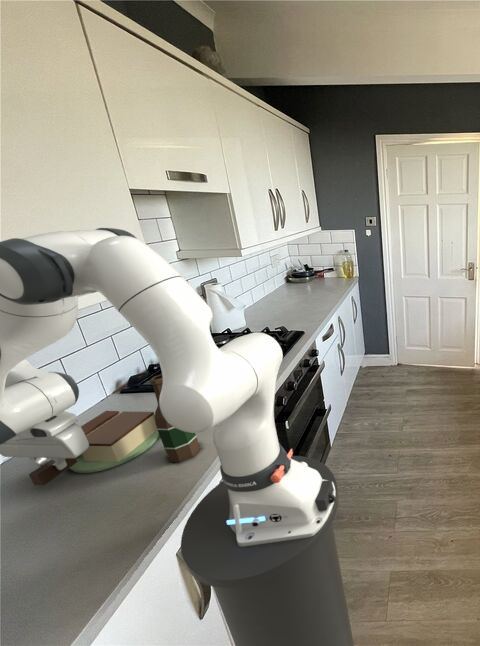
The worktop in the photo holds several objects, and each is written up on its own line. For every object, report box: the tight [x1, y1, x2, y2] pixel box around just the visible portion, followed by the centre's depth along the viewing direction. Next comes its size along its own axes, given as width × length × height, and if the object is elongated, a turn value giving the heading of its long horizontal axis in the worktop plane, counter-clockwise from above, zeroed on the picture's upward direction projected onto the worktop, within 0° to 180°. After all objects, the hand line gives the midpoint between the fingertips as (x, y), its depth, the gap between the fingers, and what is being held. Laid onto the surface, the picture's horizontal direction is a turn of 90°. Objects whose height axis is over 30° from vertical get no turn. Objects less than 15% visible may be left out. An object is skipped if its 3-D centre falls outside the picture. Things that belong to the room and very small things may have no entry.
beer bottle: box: [149, 374, 201, 463], centre depth 92 cm, size 8×8×24 cm
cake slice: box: [77, 410, 121, 461], centre depth 98 cm, size 4×14×6 cm, turn 175°
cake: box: [68, 411, 160, 474], centre depth 98 cm, size 20×20×7 cm
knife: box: [28, 455, 82, 487], centre depth 93 cm, size 2×22×4 cm, turn 175°
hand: (54, 467), depth 87 cm, fingers closed on knife, 2 cm apart
